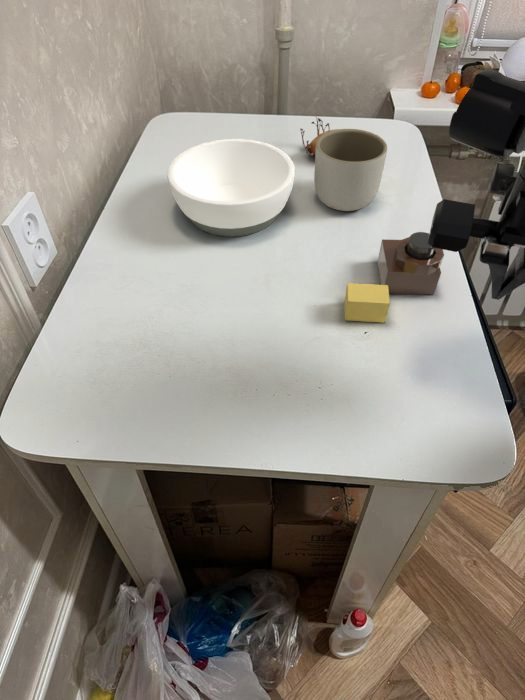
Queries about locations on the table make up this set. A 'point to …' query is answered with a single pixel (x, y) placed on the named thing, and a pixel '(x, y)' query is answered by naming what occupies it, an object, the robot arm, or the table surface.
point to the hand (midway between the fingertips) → (495, 296)
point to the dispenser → (408, 269)
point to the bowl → (231, 185)
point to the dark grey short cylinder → (419, 246)
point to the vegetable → (312, 146)
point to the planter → (348, 168)
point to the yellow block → (366, 302)
